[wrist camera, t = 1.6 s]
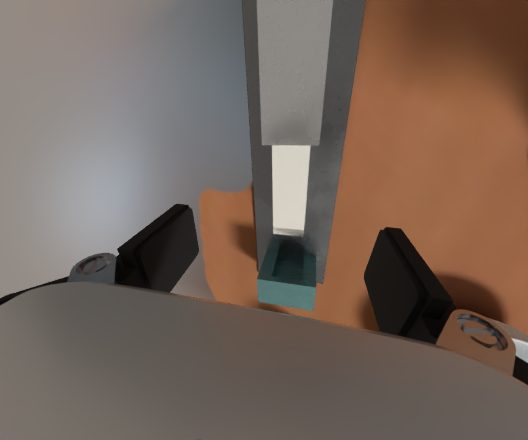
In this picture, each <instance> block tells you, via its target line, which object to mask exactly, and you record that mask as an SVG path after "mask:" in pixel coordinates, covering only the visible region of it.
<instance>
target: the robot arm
mask: <svg viewBox="0 0 528 440" xmlns="http://www.w3.org/2000/svg"><path fill="white" fill-rule="evenodd" d="M117 250H118V252H119V255H118V256H117V257H116V256H115V255H113V254H110V253H100V254H95V255H92V256H89V257H87V258H85V259H83V260H81V261H80V262H78V263H77V264H76V265H75V266H74V267H73V268H72V270H71V272H70V275H69V276H68V277H65V278H62V279H58V280H55V281H52V282H48V283H45V284H42V285H39V286H36V287H32V288H29V289H26V290H23V291H19V292H16V293H12V294H9V295H6V296H4V297H2V298H0V440H528V363H527V362H525V361H524V360H522V359H521V358H519V357H517V356H516V346H515V343H514V342H513V340H512V338H511V337H510V336H509V335H508V334H507V333H506V332H505V331H504V330H503V329H502V328H501V327H500V326H498V325H497V324H496V323H494V322H493V321H491V320H490V319H488V318H486V317H484V316H482V315H480V314H478V313H475V312H472V311H469V310H461V309H459V310H457V309H456V308H455V306H454V305H453V303H452V302H453V300H452V299H451V297H450V296H449V294H448V293H447V292H446V290H445V289H444V288H443V286H442V285H441V283H440V282H439V281H438V279H437V278H436V276H435V275H434V274H433V272H432V271H431V270H430V268H429V267H428V265H427V264H426V263H425V261H424V260H423V258H422V257H421V256H420V254H419V253H418V252H417V250H416V249H415V247H414V246H413V245H412V243H411V242H410V240H409V239H408V238H407V236H406V235H405V234H404V232H403V231H402V230H401V229H399V228H390V227H386V228H385V229H384V230H380V232H379V234H378V237H377V240H376V242H375V245H374V248H373V251H372V253H371V256H370V259H369V262H368V264H367V267H366V270H365V273H364V281H365V284H366V287H367V290H368V294H369V297H370V300H371V303H372V307H373V310H374V313H375V316H376V320H377V323H378V326H379V329H380V332H378V331H373V330H368V329H363V328H358V327H353V326H348V325H342V324H337V323H332V322H326V321H321V320H316V319H311V318H305V317H300V316H295V315H289V314H284V313H279V312H273V311H268V310H262V309H257V308H251V307H246V306H241V305H235V304H230V303H224V302H219V301H213V300H207V299H201V298H196V297H190V296H185V295H179V294H174V293H170V291H171V290H172V289H173V288H174V286H175V285H176V283H177V282H178V281H179V279H180V278H181V277H182V275H183V274H184V273H185V271H186V270H187V269H188V267H189V266H190V264H191V263H192V262H193V260H194V259H195V258H196V256H197V255H198V252H199V247H198V241H197V235H196V229H195V223H194V217H193V212H192V209H191V208H190V207H189V206H188V205H184V204H176V205H174V206H173V207H171V208H170V209H169V210H167V211H166V212H165V213H164V214H162V215H161V216H160V217H158V218H157V219H156V220H154V221H153V222H152V223H151V224H149V225H148V226H146V227H145V228H144V229H143V230H141V231H140V232H139V233H137V234H136V235H135V236H133V237H132V238H131V239H130V240H128V241H127V242H126V243H124V244H123V245H122V246H120V247H119V248H118V249H117Z"/></svg>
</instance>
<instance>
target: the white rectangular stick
mask: <svg viewBox="0 0 528 440" xmlns="http://www.w3.org/2000/svg"><path fill="white" fill-rule="evenodd" d="M310 149H311V145H272V181H273V234H281V235H292V236H302V237H303V236H304V226H305V215H306V202H307V189H308V176H309V162H310Z"/></svg>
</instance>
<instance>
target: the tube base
mask: <svg viewBox="0 0 528 440" xmlns="http://www.w3.org/2000/svg"><path fill="white" fill-rule="evenodd" d="M365 1H366V0H242V11H243V26H244V44H245V60H246V75H247V91H248V108H249V125H250V141H251V156H252V174H253V190H254V206H255V223H256V239H257V255H258V271H259V275H258V278H257V287H258V302H263V303H269V304H275V305H281V306H287V307H293V308H299V309H305V310H311V311H313V308H314V301H315V293H316V283H321V284H323V280H324V274H325V267H326V260H327V254H328V247H329V240H330V234H331V227H332V220H333V214H334V207H335V201H336V194H337V187H338V181H339V174H340V167H341V161H342V154H343V147H344V141H345V134H346V128H347V121H348V114H349V108H350V101H351V94H352V88H353V81H354V74H355V68H356V61H357V54H358V48H359V41H360V35H361V28H362V21H363V15H364V8H365ZM272 145H311V149H310V162H309V176H308V189H307V202H306V215H305V226H304V236H303V237H302V236H292V235H281V234H273V181H272Z"/></svg>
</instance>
